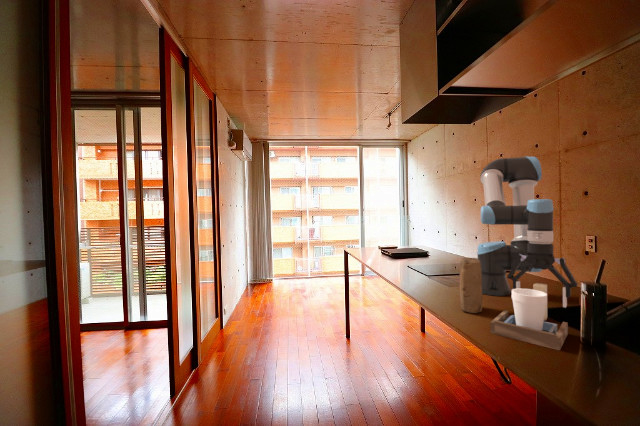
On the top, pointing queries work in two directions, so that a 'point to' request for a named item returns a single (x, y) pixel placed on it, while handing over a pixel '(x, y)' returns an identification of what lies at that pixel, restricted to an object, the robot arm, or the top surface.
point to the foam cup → (529, 307)
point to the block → (470, 285)
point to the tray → (546, 325)
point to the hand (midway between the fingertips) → (540, 302)
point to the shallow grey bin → (528, 332)
